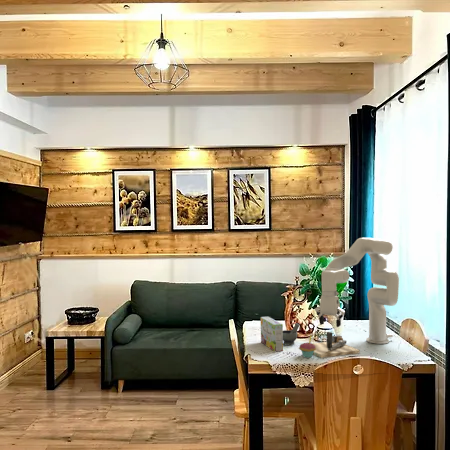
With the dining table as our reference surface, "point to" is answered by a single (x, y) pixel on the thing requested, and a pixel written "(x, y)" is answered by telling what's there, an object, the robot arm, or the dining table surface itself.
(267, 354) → the dining table surface
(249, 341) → the dining table surface
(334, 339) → the anvil
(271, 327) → the snack box
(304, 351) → the cupcake
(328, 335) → the lever
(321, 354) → the board
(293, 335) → the mortar and pestle
